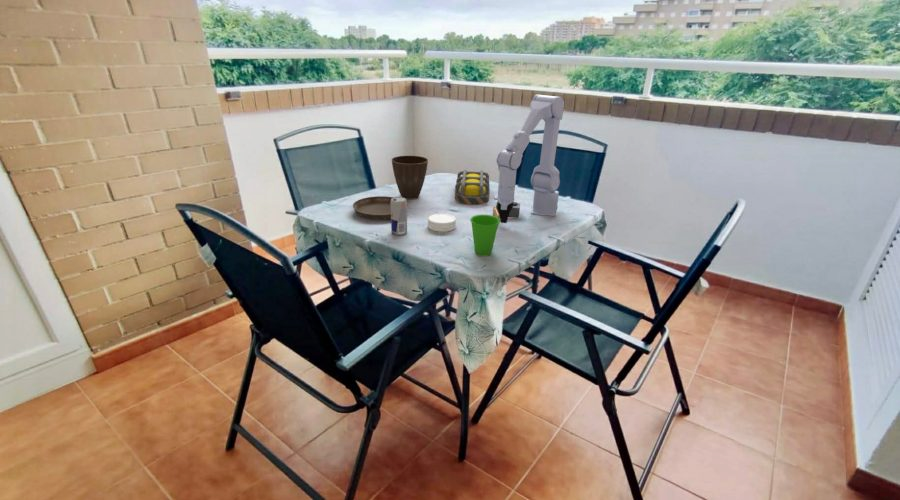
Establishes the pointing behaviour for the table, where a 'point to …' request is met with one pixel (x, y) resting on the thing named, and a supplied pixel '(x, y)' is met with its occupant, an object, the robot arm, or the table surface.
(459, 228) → the table surface
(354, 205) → the plant saucer
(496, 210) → the wooden matchstick
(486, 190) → the cage light
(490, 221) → the cup
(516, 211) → the camera body
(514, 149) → the robot arm
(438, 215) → the white round disc
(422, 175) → the plant pot
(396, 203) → the energy drink
